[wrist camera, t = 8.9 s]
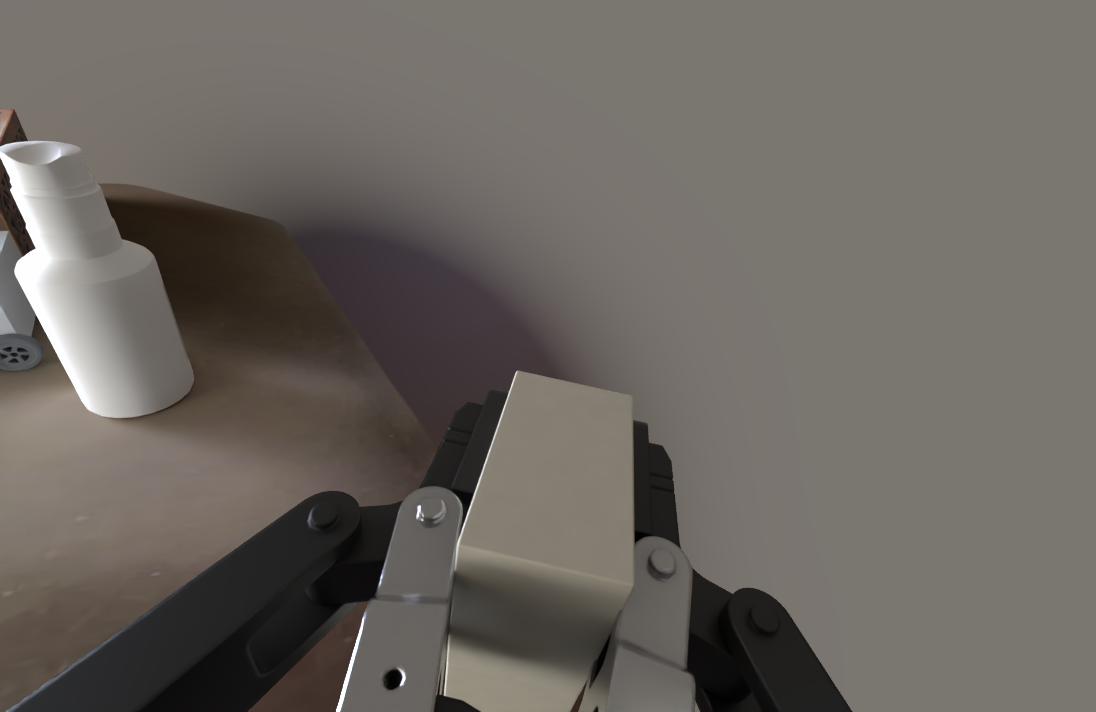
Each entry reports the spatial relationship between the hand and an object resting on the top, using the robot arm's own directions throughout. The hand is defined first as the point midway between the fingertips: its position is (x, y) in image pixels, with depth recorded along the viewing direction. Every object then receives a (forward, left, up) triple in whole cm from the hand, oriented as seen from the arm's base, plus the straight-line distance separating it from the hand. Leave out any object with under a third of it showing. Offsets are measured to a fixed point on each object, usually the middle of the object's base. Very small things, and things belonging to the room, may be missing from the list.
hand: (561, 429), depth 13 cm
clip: (-2, +2, -9) cm, 9 cm away
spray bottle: (+34, +6, -20) cm, 40 cm away
